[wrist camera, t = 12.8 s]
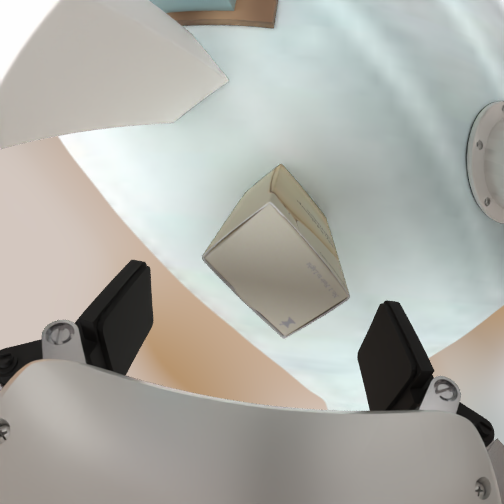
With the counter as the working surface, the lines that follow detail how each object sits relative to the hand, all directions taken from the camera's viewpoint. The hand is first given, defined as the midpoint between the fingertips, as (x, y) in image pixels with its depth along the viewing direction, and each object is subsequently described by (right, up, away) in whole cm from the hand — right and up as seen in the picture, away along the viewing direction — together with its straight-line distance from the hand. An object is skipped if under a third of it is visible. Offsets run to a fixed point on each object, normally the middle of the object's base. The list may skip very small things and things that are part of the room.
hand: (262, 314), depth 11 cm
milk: (-6, +17, +9) cm, 20 cm away
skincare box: (+2, +6, +13) cm, 15 cm away
